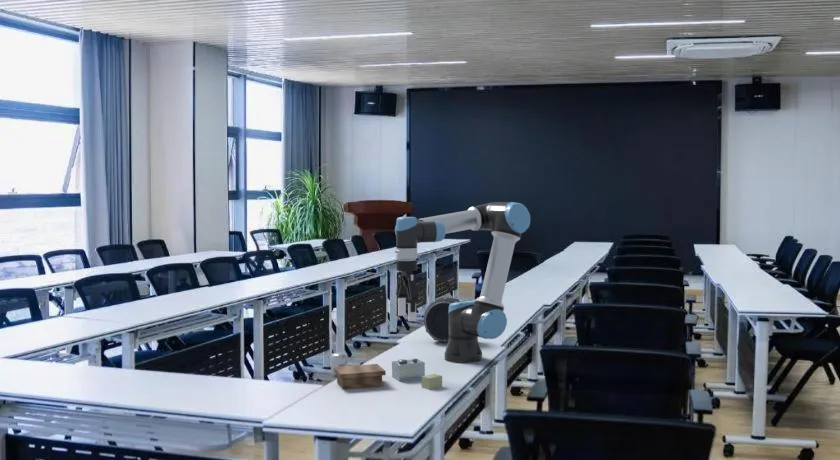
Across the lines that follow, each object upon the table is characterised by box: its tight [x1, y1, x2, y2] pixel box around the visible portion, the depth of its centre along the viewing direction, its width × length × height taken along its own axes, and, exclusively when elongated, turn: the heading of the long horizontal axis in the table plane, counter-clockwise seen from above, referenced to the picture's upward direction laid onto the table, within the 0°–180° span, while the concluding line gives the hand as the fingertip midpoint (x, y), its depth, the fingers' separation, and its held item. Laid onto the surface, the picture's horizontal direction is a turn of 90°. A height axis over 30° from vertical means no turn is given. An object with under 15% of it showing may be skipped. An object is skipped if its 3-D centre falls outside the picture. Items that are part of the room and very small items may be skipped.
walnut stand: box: [334, 363, 387, 390], centre depth 295 cm, size 16×12×6 cm
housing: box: [391, 358, 426, 382], centre depth 304 cm, size 10×7×7 cm
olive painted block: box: [421, 373, 443, 390], centre depth 290 cm, size 6×4×4 cm, turn 129°
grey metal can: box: [330, 352, 348, 378], centre depth 309 cm, size 6×6×8 cm
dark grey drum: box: [422, 296, 461, 344], centre depth 372 cm, size 11×20×20 cm, turn 78°
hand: (406, 318), depth 303 cm, fingers open, 13 cm apart
